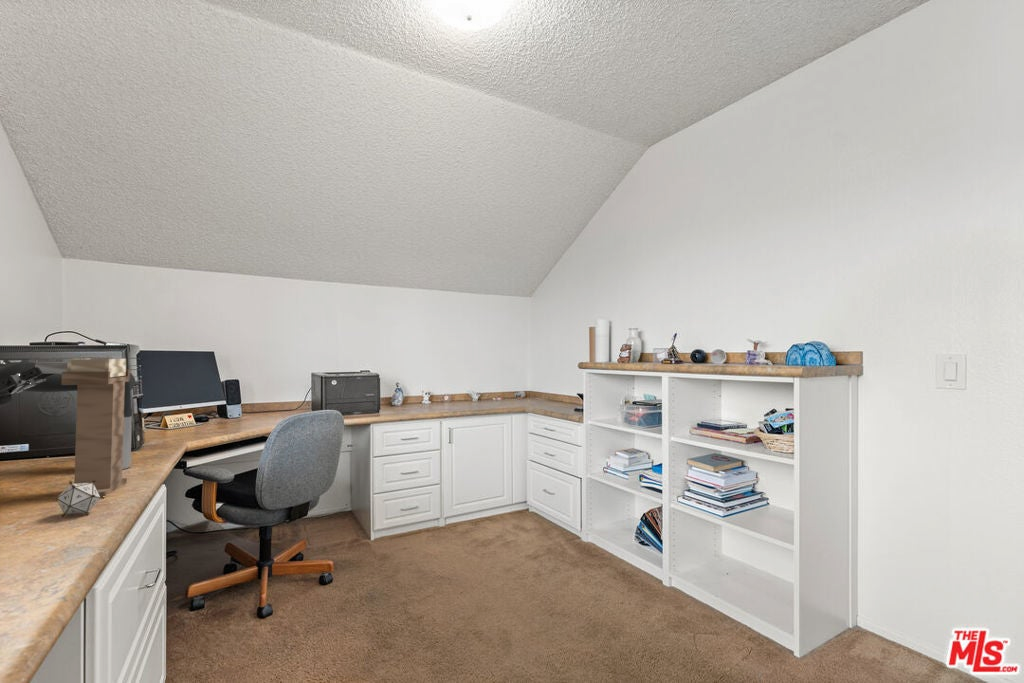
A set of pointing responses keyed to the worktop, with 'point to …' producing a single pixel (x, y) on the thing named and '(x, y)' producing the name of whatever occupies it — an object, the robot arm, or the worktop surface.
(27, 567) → the worktop surface
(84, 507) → the game die
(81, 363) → the tray
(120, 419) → the stand
